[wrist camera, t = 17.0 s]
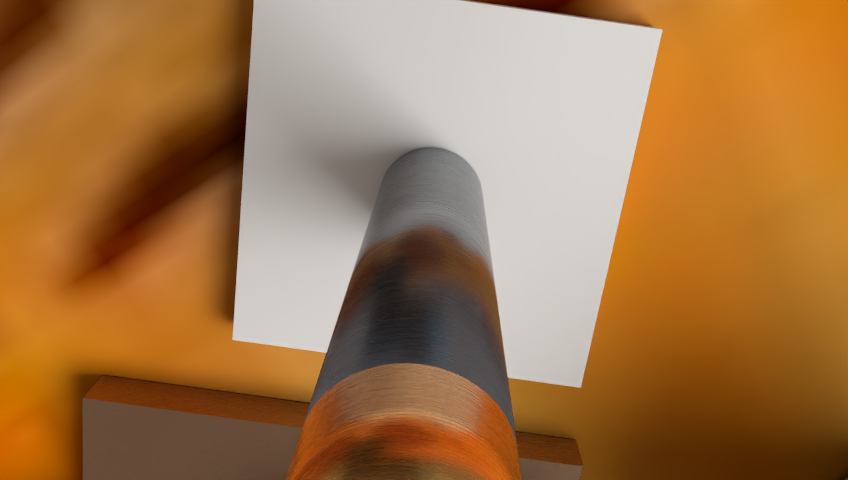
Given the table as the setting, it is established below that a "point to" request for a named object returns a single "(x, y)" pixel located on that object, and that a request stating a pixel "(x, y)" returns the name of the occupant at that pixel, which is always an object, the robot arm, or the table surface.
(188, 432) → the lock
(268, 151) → the mat
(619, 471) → the table surface
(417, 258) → the copper and gray cylinder
